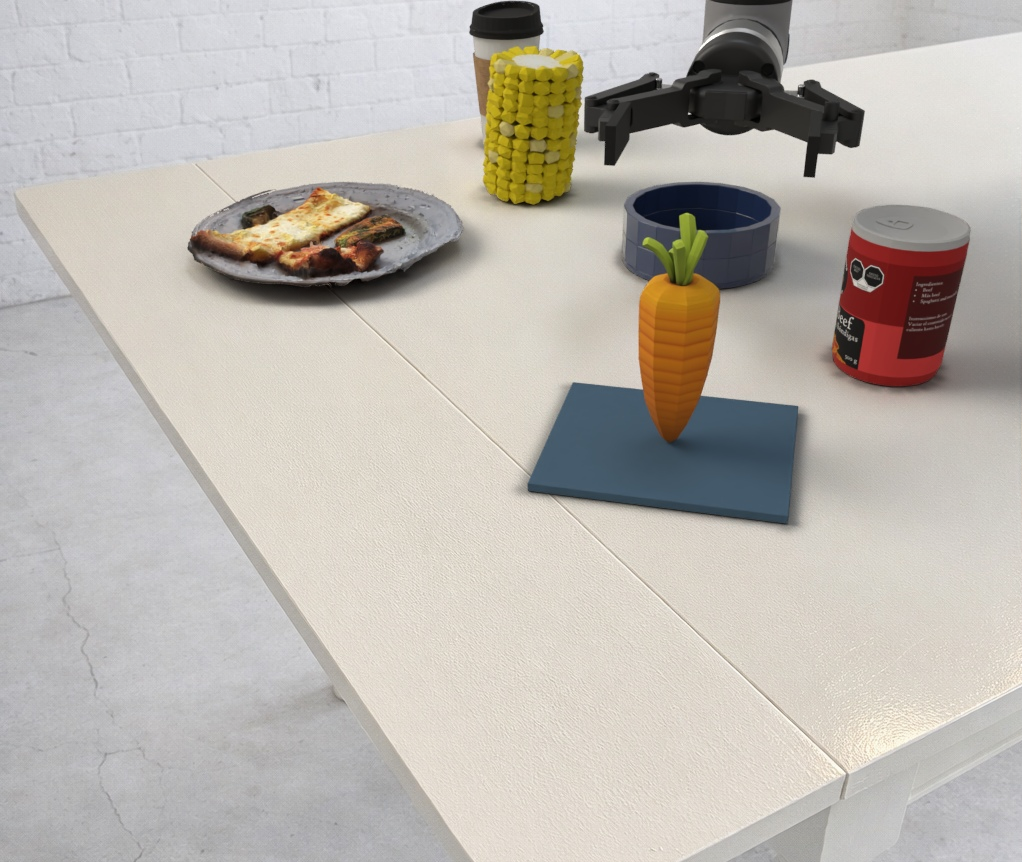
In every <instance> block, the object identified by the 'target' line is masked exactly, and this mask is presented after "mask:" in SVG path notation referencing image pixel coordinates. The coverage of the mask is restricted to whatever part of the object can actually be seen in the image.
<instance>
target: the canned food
mask: <svg viewBox="0 0 1022 862" xmlns="http://www.w3.org/2000/svg"><path fill="white" fill-rule="evenodd" d="M971 231H972V230H971V226H970V224H969V223H968V222H966V221H965V220H964V219H963V218H961V217H959V216H957V215H955V214H952V213H949V212H947V211H944V210H941V209H936V208H931V207H926V206H919V205H909V204H885V205H877V206H870V207H867V208H864V209H861V210H860V211H858V212H856V213H855V215H854V216H853V220H852V223H851V226H850V234H849V238H848V243H847V250H846V256H845V263H844V267H843V268H844V269H843V275H842V282H841V286H840V287H841V288H840V293H839V301H838V306H837V314H836V320H835V327H834V331H833V339H832V344H831V352H832V358H833V361H834V364H835V366H836V367H837V368H838V369H839V370H841V371H842V372H843V373H844V374H846V375H848V376H849V377H851V378H853V379H856V380H858V381H862V382H865V383H869V384H873V385H878V386H883V387H884V386H885V387H911V386H917V385H920V384H924V383H926V382H929V381H930V380H932V379H933V378H934V377H935V375H936V374H937V372H938V371H939V369H940V367H941V366H942V363H943V361H944V355H945V351H946V347H947V342H948V339H949V334H950V329H951V325H952V322H953V321H952V320H953V316H954V312H955V308H956V304H957V299H958V294H959V291H960V286H961V281H962V278H963V274H964V269H965V265H966V260H967V256H968V250H969V249H968V248H969V245H970V241H971V233H972V232H971Z"/></svg>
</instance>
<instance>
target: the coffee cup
mask: <svg viewBox="0 0 1022 862" xmlns="http://www.w3.org/2000/svg"><path fill="white" fill-rule="evenodd" d="M471 15H472V16H471V23H470V25H469V31H468V34H469V35H470V36H472V41H473V53H472V58H473V67H474V77H475V84H476V85H475V86H476V94H477V102H478V109H479V111H478V112H479V116H480V126H481V127H480V128H481V137H482V144H483V147H484V146H485V145H484V141H485V138H486V134H485V124H486V123H487V119H486V114H487V110H486V108H487V106H486V105H487V102H488V100H487V97H488V91H489V89H490V88H489V86H488V82H489V80H490V71H489V67H490V62H491V56H492V55H493V53H502V52H503V51H507V52H508V51H509V49H511V48H513V47H516V46H518V47H519V48H520V49H522V50H523V49H524V48H525V47H529V46H536V47H537V48H538V50H539V51H540V45H541V44H540V43H541V35H543V34H544V32H545V31H544V24H543V22H542V17H541V7H540V5H539V4H538V3H536V2H532V1H527V0H501V1H495V2H492V3H488V4H485V5H482V6H480V7H477V8H475V9H474V10H473V11H472V14H471Z"/></svg>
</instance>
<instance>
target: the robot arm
mask: <svg viewBox="0 0 1022 862" xmlns="http://www.w3.org/2000/svg"><path fill="white" fill-rule="evenodd" d="M792 8H793V0H705V4H704V17H703V18H704V19H703V20H704V21H703V32H702V41H701V44H700V47H699V48H698V50H697V51H696V54H695V56H694V59H693V61H691V64H690V66H689V68H688V70H687V73H686V76H685V77H679V78H677V79H674V81H673V83H672V84H665V83H663V78H662V77H660V74H659V73H658V72H653V71H650V72H648V73H645V74H643V75H642V76H641V77H640V78H639V79H635V80H632V81H629V82H626V83H624V84H620V85H617V86H614V87H612V88H608V89H605V90H602V91H600V92H596V93H593V94H590V95H587V96H584V105H583V106H584V108H583V111H584V112H583V132H585V133H586V134H589V135H590V134H592V135H593V134H596V133H598V134H597V140H598V141H599V142H604V151H603V152H604V153H603V154H604V155H603V156H604V157H603V166H609V167H610V166H611V167H615V166H616V164H617V163H618V161H619V159H620V158H621V156H622V154H623V152H624V150H625V149H626V147H627V145H628V143H629V141H630V139H631V138H630V137H631V136H630V135H631V134H634V133H639V132H643V131H647V130H652V129H656V128H661V127H666V126H669V125H674V126H677V127H680V128H688V127H694V126H697V125H700V126H701V127H702V128H704V129H706V130H707V131H709V132H711V133H714V134H717V135H721V136H739V135H742V134H745V133H749V132H750V131H752V130H756V131H759V132H761V133H762V132H763V133H764V132H770V131H776V132H779V133H781V134H784V135H787V136H789V137H792V138H795V139H797V140H799V141H802V142H805V143H806V150H805V160H804V167H803V169H804V170H803V178H816V172H817V165H818V156H819V155H829V156H832V155H833V154H835V151H836V145H837V143H839V144H840V145H842V146H843V147H847V148H848V149H854V148H858V147H860V144H861V138H862V133H863V126H864V119H865V114H866V110H865V109H864V108H863V109H862V108H861V107H859V106H857V105H855V104H853V103H852V102H850V101H848V100H846V99H844V98H842V97H841V96H839V95H837V94H835V93H833V92H831V91H829V90H828V89H825V88H824V87H822V85H821V82H820V81H818V80H815V79H806V80H804V81H803V83H802V84H798V85H797V90H787V89H786V90H785V87H784V85H783V84H782V77H783V74H784V73H783V72H784V66H785V65H786V64H787V61H788V56H789V51H790V40H791V39H790V38H791V37H790V36H791V35H790V27H791V19H792V18H791V17H792V11H793V10H792Z"/></svg>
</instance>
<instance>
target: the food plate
mask: <svg viewBox="0 0 1022 862" xmlns="http://www.w3.org/2000/svg"><path fill="white" fill-rule="evenodd" d="M463 232H464V225H463V220H461V218H460V216H459V215H458V214H457V212H456V211H455V209H454V208H453V207H452V205H451V204H449V203H447V202H446V201H444V200H442V199H440V198H439V197H437V196H435V194H434V193H432V194H429V192H428V191H426V193H425V191H423V190H419V189H413V188H411V187H410V188H409V187H401V186H398V184H396V185H394V184H391V183H384V182H380V183H379V182H376V183H375V182H374V183H373V182H362V181H361V182H359V181H330V182H317V183H309V184H302V185H298V186H292V187H288V188H281V189H276V188H274V189H273V190H272V189H267V190H264V191H261V192H258V193H254V194H252V195H249V196H247V197H245V198H242V199H240V200H239V201H236V202H234V203H232V204H230V205H227V206H225V207H223V208H222V209H220V210H217V211H216V212H214V213H213V214H212V215H207V216H206V217H205V218H203V219H202V220H201V221H199V222H198V224H196V225H195V227H194V228H193V230H192V231H191V235H190V238H189V241H187V248H186V249H187V251H188V253H190V254H191V255H192V257H193V261H195V262H196V263H199V264H202V265H203V266H204V267H206V268H208V269H210V270H212V271H215V272H216V273H219V274H223V275H224V276H225V277H228V278H229V279H231V280H232V281H233V280H237V281H242V282H248V283H250V284H251V283H253V284H265V285H270V284H272V285H274V284H275V285H277V284H278V285H290V286H294V287H296V286H297V287H302V288H308V287H311V286H316V287H321V286H327V285H328V286H329V290H330V291H331V290H333V285H332V284H331V283H334V285H335V286H340V287H342V286H343V287H344V286H346V285H347V286H348V284H349V283H350V282H352V281H353V280H357V279H360V280H361V282H362V283H363V282H369V281H372V280H374V279H377V278H380V277H382V276H385V275H390V274H395V273H396V272H397V270H402V271H403V272H406V271H407V270H408V269H409V268H410V267H412V266H413V265H414V264H415V263H416V262H419V261H421V260H422V259H423V258H424V257H426V256H429V255H431V254H432V253H436V252H437V251H438V250H439V248H442V247H444V246H445V244H448V243H449V242H452V243H454V242H455V243H456V242H458V241H459V240H460V238H461V237H462V235H463V234H464V233H463Z"/></svg>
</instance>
